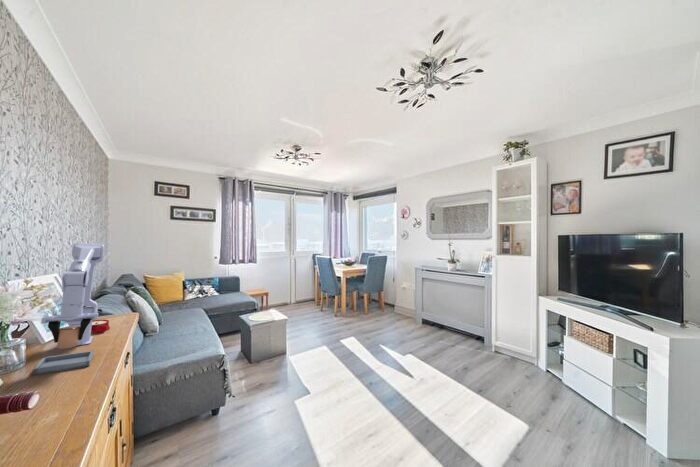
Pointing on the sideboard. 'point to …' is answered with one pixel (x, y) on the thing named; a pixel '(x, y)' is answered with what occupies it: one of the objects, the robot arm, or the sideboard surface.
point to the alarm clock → (99, 326)
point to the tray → (63, 362)
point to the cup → (68, 337)
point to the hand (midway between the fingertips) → (68, 340)
